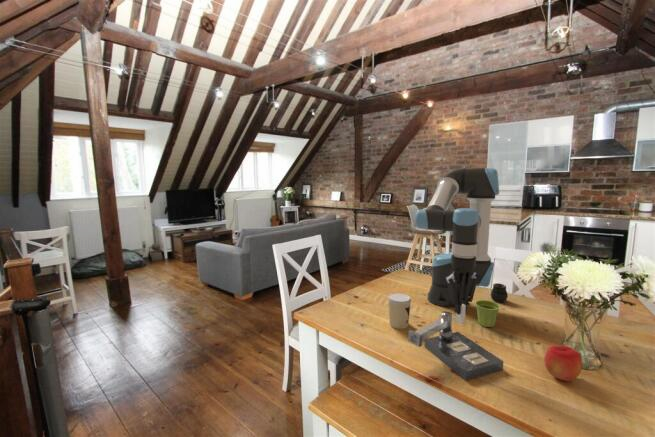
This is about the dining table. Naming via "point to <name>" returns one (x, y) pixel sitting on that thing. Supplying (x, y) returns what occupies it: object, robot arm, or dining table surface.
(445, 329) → the grey bar
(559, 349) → the apple
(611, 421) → the dining table surface
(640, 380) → the dining table surface
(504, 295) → the mate gourd
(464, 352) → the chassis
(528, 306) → the dining table surface
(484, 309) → the plant pot
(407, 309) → the coffee cup
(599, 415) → the dining table surface
